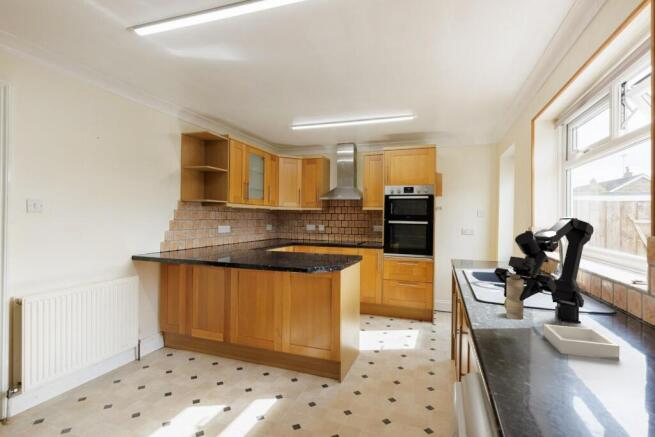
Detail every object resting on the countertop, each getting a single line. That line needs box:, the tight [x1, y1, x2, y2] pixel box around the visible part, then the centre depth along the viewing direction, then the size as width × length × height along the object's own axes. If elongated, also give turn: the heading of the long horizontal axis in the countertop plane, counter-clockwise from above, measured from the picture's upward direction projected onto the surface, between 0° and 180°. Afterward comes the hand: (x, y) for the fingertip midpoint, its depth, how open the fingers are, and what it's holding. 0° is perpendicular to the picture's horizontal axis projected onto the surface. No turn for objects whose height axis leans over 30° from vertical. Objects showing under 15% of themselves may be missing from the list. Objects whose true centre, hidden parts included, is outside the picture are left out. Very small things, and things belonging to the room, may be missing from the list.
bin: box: [543, 323, 620, 361], centre depth 97 cm, size 14×14×4 cm
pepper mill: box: [505, 273, 525, 321], centre depth 107 cm, size 5×5×14 cm
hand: (512, 298), depth 106 cm, fingers closed on pepper mill, 5 cm apart
